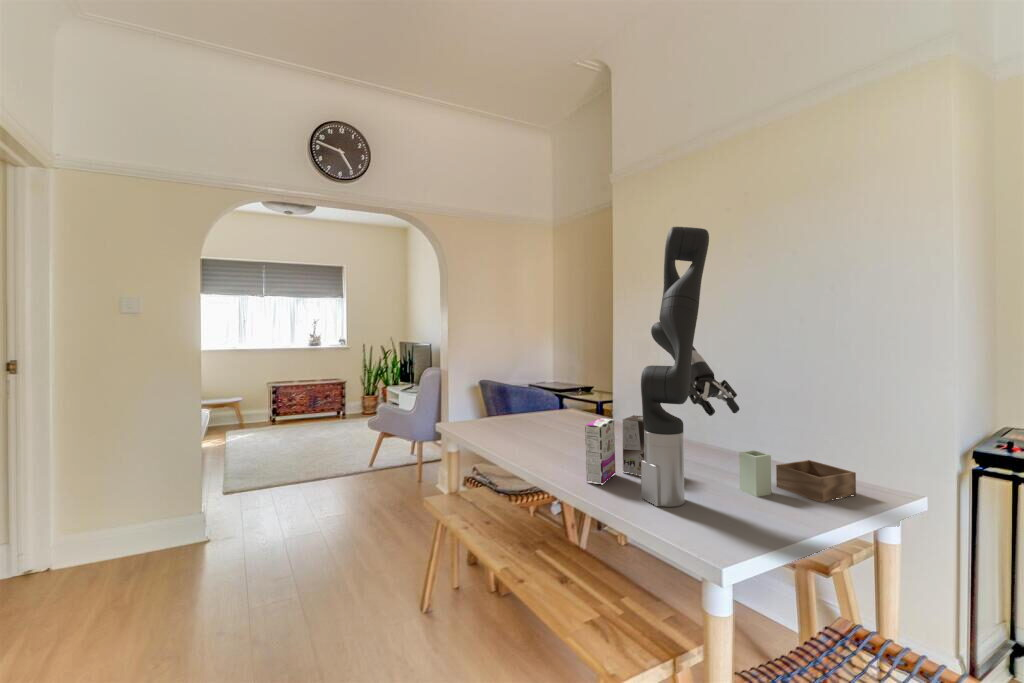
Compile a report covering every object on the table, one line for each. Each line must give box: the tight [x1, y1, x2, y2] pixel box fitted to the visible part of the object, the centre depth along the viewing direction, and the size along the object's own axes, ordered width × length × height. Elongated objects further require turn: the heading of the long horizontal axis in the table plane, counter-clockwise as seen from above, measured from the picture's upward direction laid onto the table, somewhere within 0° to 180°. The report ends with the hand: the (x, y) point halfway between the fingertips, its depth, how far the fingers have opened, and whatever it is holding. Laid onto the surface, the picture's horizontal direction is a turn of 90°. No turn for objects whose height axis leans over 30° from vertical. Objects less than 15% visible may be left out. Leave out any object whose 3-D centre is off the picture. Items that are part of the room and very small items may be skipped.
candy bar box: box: [584, 417, 616, 483], centre depth 125 cm, size 11×5×16 cm, turn 148°
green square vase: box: [738, 450, 772, 498], centre depth 113 cm, size 5×5×10 cm
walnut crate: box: [775, 459, 857, 503], centre depth 113 cm, size 12×12×6 cm
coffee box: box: [622, 414, 644, 476], centre depth 132 cm, size 9×6×16 cm
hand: (725, 412), depth 122 cm, fingers open, 8 cm apart
